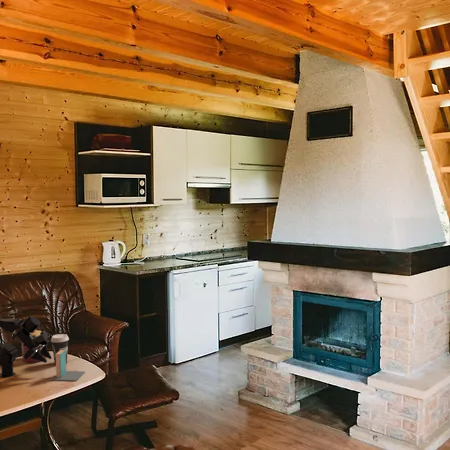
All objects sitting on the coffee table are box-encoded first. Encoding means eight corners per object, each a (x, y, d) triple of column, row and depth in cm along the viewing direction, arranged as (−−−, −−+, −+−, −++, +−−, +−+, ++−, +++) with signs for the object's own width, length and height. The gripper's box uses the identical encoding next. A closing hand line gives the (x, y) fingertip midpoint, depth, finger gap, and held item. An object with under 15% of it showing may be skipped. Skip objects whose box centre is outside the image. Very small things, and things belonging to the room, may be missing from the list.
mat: (51, 380, 268) (51, 379, 268) (60, 371, 280) (60, 370, 279) (76, 381, 266) (76, 380, 266) (85, 372, 278) (84, 371, 278)
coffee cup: (56, 367, 287) (54, 339, 286) (48, 362, 294) (47, 336, 293) (72, 363, 293) (71, 336, 292) (65, 358, 300) (64, 332, 299)
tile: (56, 377, 270) (55, 354, 269) (61, 372, 277) (60, 350, 276) (61, 377, 270) (60, 354, 269) (66, 373, 276) (65, 350, 275)
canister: (50, 359, 300) (49, 328, 298) (27, 365, 291) (26, 333, 289) (40, 354, 309) (39, 323, 308) (18, 359, 301) (17, 328, 299)
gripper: (28, 333, 263) (51, 355, 263) (45, 323, 282) (66, 344, 281) (14, 348, 265) (36, 370, 264) (31, 337, 283) (52, 358, 283)
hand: (48, 360), depth 273 cm, fingers open, 5 cm apart
